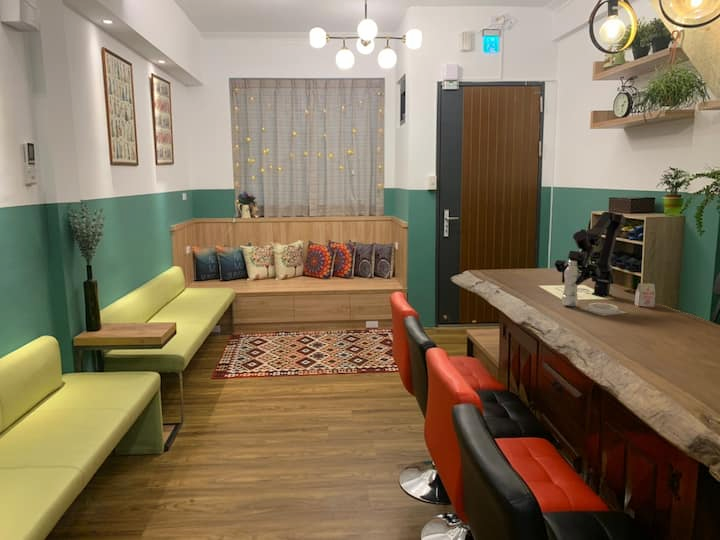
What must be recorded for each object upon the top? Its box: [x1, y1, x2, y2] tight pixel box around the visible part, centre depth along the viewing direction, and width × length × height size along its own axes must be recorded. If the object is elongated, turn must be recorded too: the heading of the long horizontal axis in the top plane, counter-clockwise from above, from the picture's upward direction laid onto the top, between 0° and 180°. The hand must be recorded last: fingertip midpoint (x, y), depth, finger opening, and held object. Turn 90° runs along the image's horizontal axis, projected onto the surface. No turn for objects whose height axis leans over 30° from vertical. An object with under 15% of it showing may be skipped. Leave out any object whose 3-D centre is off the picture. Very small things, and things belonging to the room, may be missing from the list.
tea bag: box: [634, 283, 656, 308], centre depth 251 cm, size 4×7×10 cm, turn 89°
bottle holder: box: [579, 302, 628, 317], centre depth 242 cm, size 13×13×2 cm
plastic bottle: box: [561, 259, 581, 307], centre depth 247 cm, size 6×7×20 cm
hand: (569, 283), depth 246 cm, fingers closed on plastic bottle, 6 cm apart
